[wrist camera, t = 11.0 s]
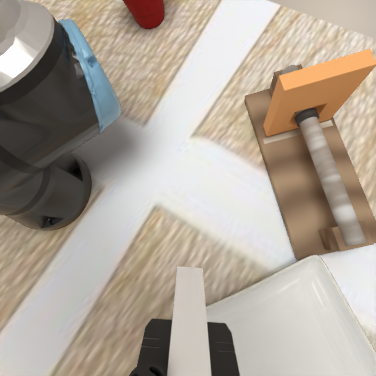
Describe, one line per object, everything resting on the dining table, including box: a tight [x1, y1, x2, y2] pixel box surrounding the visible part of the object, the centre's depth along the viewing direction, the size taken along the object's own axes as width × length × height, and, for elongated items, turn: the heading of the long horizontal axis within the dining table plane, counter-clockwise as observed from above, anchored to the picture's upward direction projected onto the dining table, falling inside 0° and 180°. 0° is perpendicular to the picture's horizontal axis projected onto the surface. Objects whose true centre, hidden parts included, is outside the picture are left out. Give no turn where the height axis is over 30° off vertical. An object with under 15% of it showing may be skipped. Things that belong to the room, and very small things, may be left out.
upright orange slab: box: [263, 49, 376, 136], centre depth 33 cm, size 2×10×12 cm, turn 103°
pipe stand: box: [245, 65, 376, 260], centre depth 36 cm, size 28×12×8 cm, turn 13°
